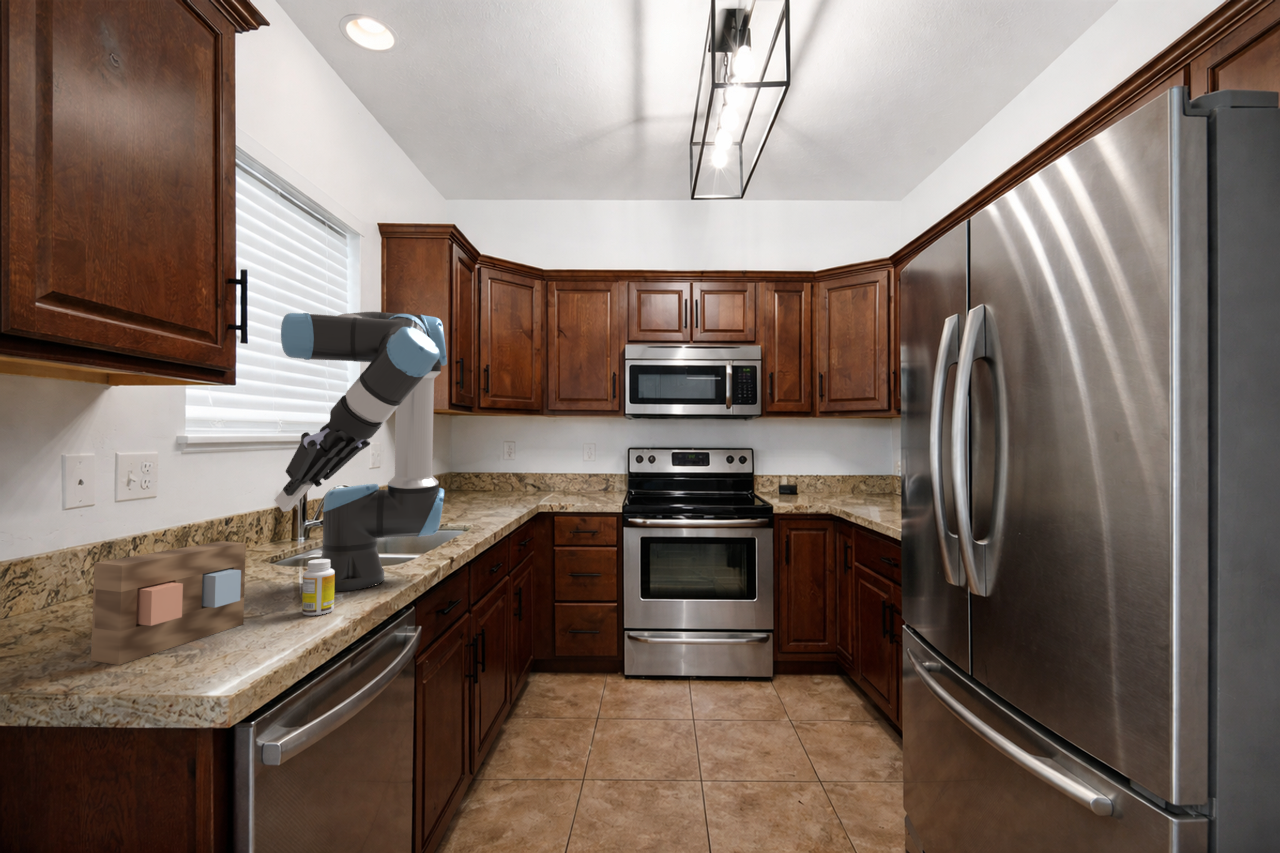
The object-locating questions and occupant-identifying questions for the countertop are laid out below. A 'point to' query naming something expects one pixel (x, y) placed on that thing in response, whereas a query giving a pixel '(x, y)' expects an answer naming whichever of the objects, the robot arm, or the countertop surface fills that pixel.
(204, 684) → the countertop surface
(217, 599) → the slate button
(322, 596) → the supplement bottle
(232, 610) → the brown wooden block
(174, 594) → the terracotta button
